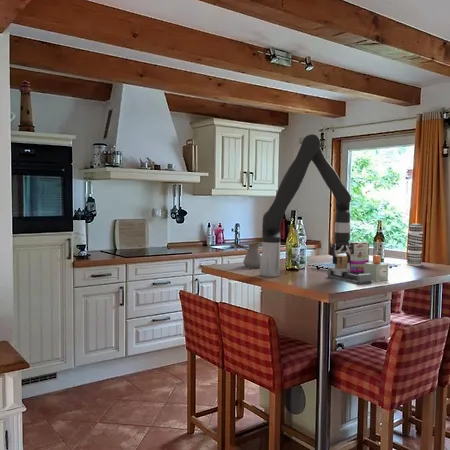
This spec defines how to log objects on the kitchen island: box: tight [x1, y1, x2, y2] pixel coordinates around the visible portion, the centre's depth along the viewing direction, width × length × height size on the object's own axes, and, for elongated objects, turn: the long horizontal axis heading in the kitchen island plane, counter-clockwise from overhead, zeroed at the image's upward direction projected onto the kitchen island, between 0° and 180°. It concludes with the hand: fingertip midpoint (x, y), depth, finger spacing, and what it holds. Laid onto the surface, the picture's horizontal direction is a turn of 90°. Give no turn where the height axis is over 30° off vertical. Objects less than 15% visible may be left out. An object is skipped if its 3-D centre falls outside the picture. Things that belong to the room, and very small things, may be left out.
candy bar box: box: [347, 241, 370, 274], centre depth 257 cm, size 11×5×16 cm, turn 101°
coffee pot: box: [230, 241, 262, 269], centre depth 263 cm, size 21×12×15 cm, turn 127°
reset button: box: [372, 254, 381, 264], centre depth 236 cm, size 3×3×4 cm
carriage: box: [331, 254, 350, 276], centre depth 238 cm, size 7×6×10 cm
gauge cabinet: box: [363, 261, 389, 282], centre depth 236 cm, size 8×9×8 cm
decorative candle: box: [406, 223, 425, 267], centre depth 287 cm, size 9×9×25 cm
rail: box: [327, 267, 373, 286], centre depth 233 cm, size 8×22×5 cm, turn 29°
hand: (341, 263), depth 238 cm, fingers open, 8 cm apart
